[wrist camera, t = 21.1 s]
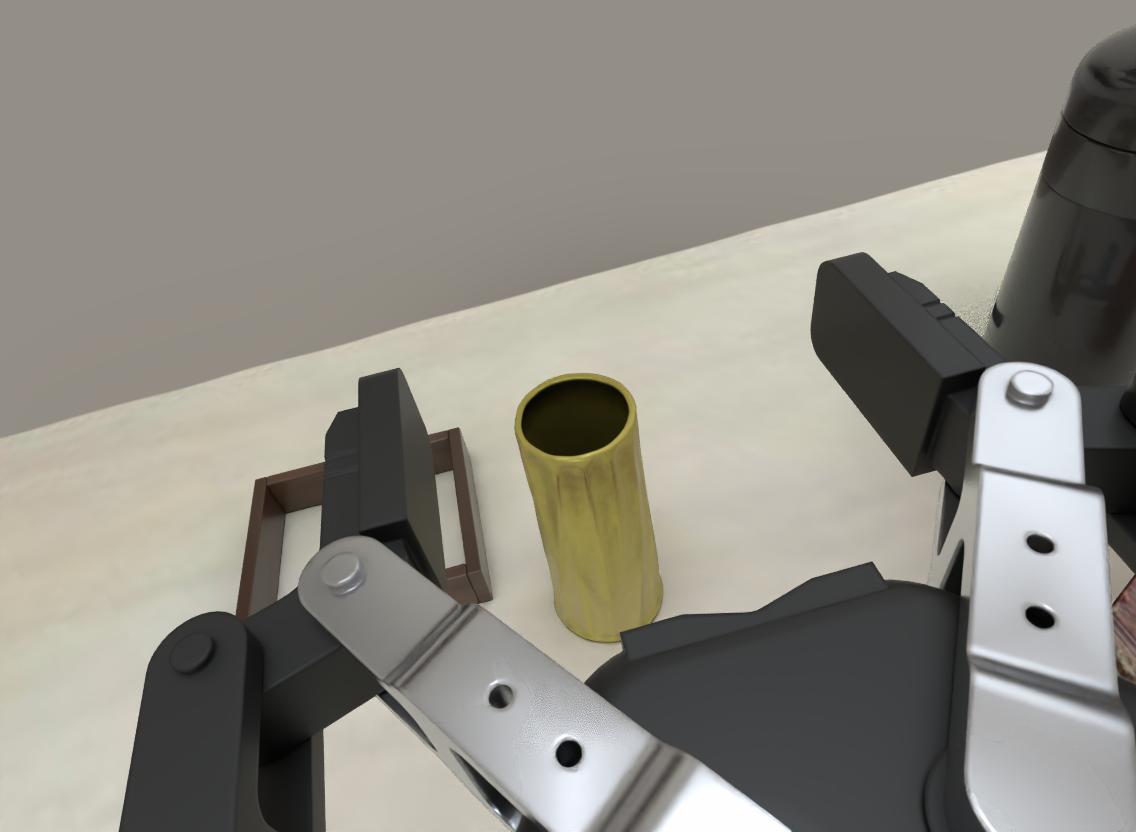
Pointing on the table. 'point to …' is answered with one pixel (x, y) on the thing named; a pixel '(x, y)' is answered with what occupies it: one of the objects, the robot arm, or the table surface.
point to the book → (1125, 632)
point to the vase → (591, 503)
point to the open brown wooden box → (307, 491)
